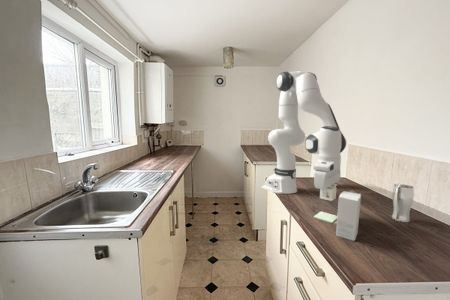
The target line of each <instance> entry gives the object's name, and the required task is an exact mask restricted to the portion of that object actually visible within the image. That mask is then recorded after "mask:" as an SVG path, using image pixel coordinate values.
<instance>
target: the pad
mask: <svg viewBox="0 0 450 300" xmlns="http://www.w3.org/2000/svg"><path fill="white" fill-rule="evenodd" d="M313 218H314V219H318V220H321V221H324V222H328V223H331V224H334V222H335V221H337V215H335V214H331V213H329V212H324V211H319V212H318V213H316V214H315V215H314V216H313Z"/></svg>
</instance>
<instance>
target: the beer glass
mask: <svg viewBox="0 0 450 300" xmlns="http://www.w3.org/2000/svg"><path fill="white" fill-rule="evenodd" d="M414 190H415V188H414V186H413V185H408V184H405V183H404V184H403V183H395V184H393V188H392V205H393V206H392V207H393V212H392V215H391V218H392V220H394V219H395V221H397V222H400V221H401V223H410V220H411V219H410V210H411V208H412V206H413V202H414V196H415V195H414V193H415V191H414Z"/></svg>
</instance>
